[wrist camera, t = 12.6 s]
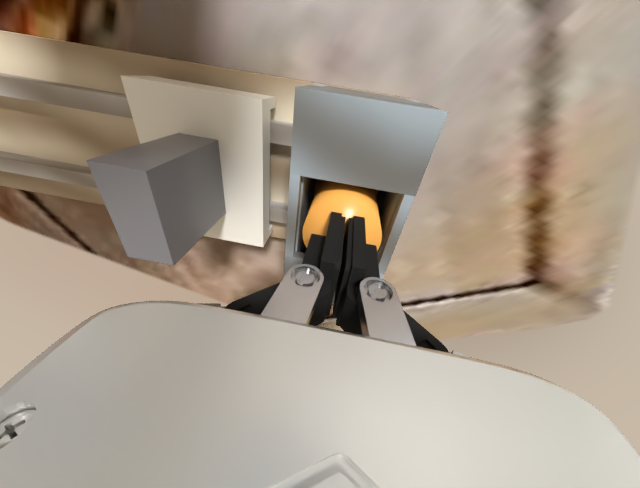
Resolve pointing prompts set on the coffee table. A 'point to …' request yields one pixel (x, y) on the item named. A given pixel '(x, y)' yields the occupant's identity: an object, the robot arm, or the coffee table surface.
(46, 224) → the coffee table surface
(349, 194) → the button
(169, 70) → the rail bed
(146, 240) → the carriage
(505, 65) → the coffee table surface
